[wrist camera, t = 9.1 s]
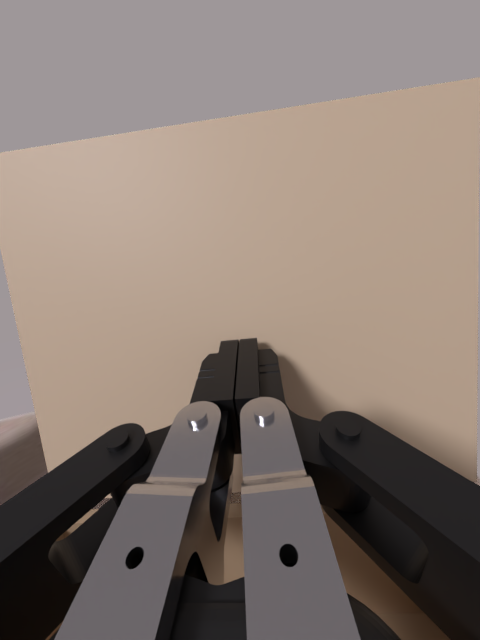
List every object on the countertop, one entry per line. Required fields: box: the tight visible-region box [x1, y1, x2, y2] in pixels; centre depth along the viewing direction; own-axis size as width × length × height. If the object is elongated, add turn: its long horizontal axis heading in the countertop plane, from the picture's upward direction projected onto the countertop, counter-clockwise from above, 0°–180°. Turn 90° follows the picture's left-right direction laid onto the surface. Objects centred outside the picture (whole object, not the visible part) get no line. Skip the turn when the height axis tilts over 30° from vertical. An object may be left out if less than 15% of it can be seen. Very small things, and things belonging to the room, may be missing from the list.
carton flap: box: [0, 77, 480, 498], centre depth 11 cm, size 16×19×1 cm
